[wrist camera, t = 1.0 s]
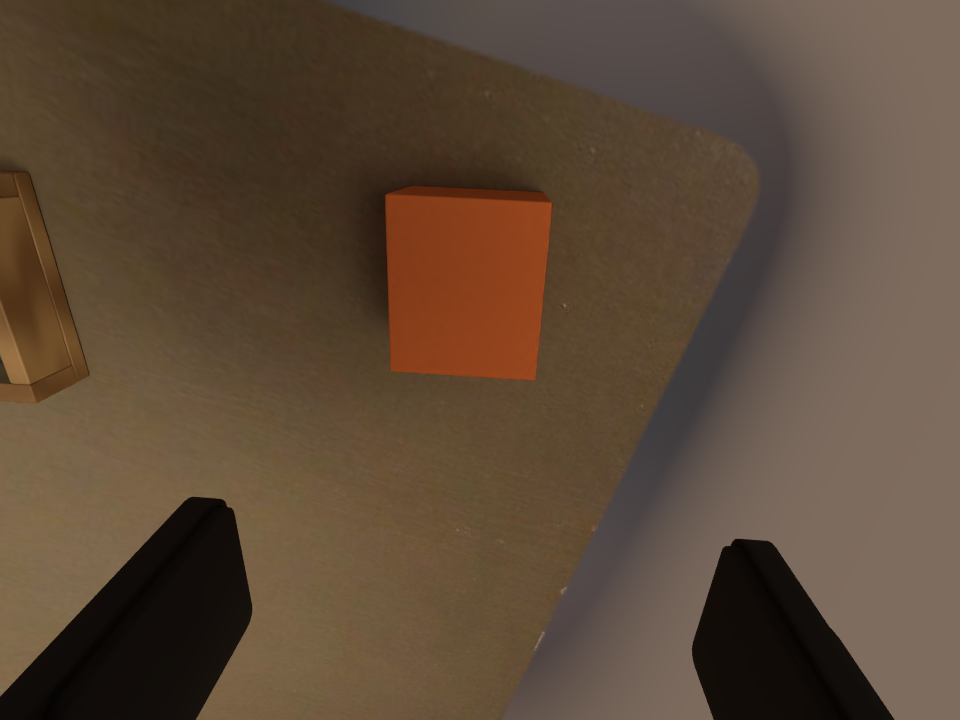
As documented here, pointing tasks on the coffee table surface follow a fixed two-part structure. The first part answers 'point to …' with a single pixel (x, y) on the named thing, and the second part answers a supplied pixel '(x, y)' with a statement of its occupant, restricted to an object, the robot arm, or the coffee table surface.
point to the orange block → (466, 280)
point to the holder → (32, 303)
